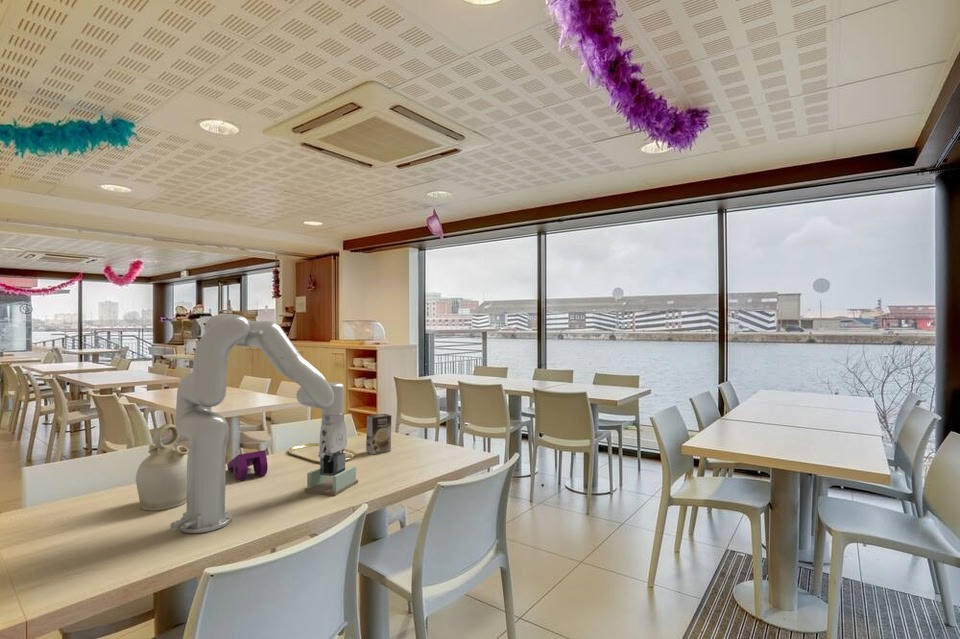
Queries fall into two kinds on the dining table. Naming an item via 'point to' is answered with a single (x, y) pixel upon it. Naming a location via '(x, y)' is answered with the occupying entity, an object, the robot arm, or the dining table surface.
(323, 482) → the post slot
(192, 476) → the robot arm
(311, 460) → the gold oval ring
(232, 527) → the dining table surface
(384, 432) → the coffee box
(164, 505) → the jug
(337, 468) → the tall grey upright block
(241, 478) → the mounting bracket
